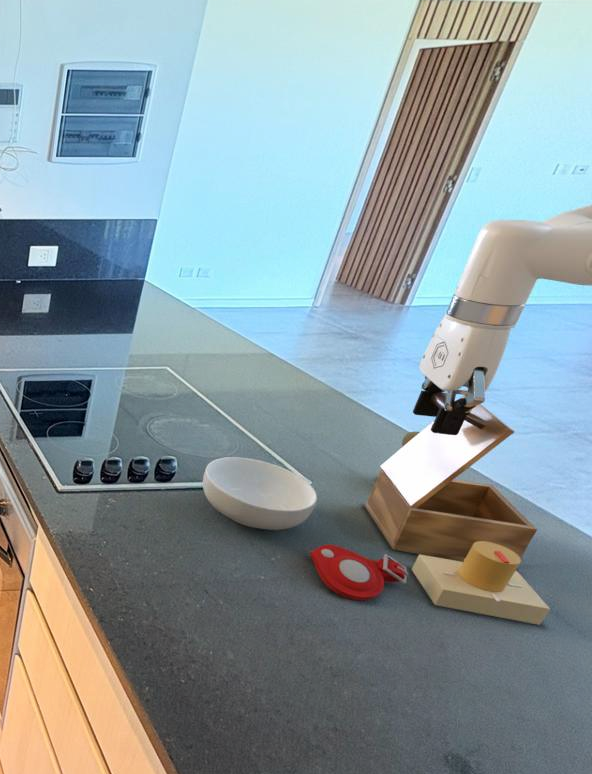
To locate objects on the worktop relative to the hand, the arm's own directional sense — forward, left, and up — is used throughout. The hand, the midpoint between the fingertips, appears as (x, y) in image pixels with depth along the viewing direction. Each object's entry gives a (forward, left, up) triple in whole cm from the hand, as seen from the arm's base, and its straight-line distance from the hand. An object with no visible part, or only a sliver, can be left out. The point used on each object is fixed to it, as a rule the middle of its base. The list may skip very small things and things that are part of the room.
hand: (434, 422), depth 95 cm
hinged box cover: (-3, 0, -5) cm, 5 cm away
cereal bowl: (+21, +3, -20) cm, 30 cm away
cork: (-8, -16, -20) cm, 27 cm away
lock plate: (-6, +15, -20) cm, 26 cm away
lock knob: (-6, +15, -17) cm, 24 cm away
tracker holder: (+9, +17, -20) cm, 28 cm away
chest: (-7, 0, -20) cm, 21 cm away
